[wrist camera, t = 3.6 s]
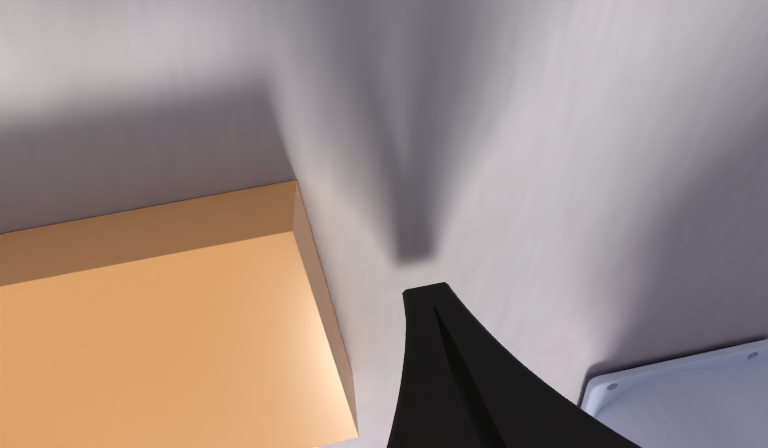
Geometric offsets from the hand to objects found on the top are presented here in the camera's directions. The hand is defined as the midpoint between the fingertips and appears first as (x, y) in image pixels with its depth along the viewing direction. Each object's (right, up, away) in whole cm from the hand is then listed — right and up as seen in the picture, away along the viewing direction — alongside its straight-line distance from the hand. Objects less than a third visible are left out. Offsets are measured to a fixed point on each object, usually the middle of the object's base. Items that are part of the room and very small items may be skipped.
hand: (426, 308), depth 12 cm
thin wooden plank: (-10, -1, +1) cm, 10 cm away
